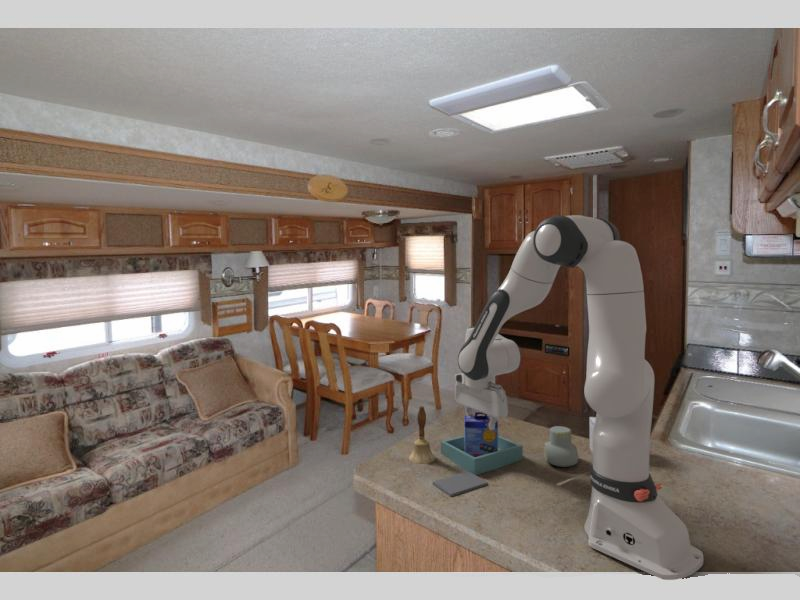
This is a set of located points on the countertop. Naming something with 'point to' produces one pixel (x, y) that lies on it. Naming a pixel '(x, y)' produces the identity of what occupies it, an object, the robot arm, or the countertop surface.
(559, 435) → the air freshener
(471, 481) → the mat
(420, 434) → the hand bell
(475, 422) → the ink cartridge box
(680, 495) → the countertop surface
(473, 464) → the bin
